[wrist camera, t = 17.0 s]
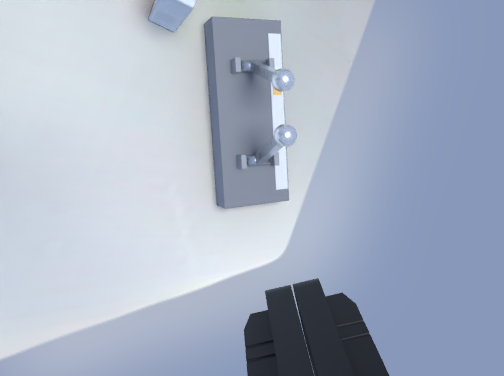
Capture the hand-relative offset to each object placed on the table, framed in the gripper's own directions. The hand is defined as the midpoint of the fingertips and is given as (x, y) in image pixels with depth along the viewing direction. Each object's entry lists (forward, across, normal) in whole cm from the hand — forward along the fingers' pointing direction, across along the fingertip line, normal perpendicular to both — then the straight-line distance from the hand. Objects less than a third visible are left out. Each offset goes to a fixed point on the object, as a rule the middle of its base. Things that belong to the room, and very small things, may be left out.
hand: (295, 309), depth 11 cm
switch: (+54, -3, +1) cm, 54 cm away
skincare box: (+57, +8, -9) cm, 59 cm away
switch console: (+56, 0, +9) cm, 57 cm away
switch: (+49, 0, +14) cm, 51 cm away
